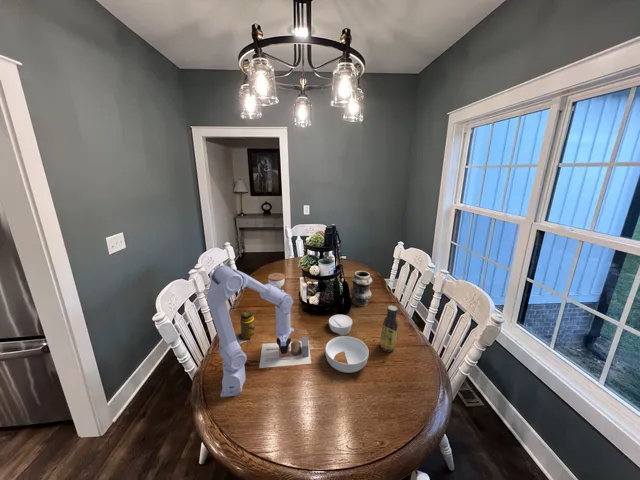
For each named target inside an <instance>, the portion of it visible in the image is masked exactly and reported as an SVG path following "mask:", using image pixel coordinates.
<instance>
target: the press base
mask: <svg viewBox="0 0 640 480" xmlns="http://www.w3.org/2000/svg"><path fill="white" fill-rule="evenodd" d="M308 339H309V338H308V336H301V340H298V341H299V342H300V343H301V353H300V355H298V356H294V355H292V354H291V343H292V342H293V341H291V342H290V344H289V356H285V357H279V345H278V344H277V342H270V343H262V344H261V353H260V358H259V359H260V360H259V366H258V367H259V369H264V368H265V369H266V368H275V367H276V368H277V367H286V366H287V367H288V366H298V365H300V366H301V365H310V364H312V360H311V359H312V356H311V351H310V341H309V340H308Z"/></svg>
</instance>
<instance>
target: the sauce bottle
mask: <svg viewBox="0 0 640 480" xmlns="http://www.w3.org/2000/svg"><path fill="white" fill-rule="evenodd" d="M386 308H387V311H386V312H387V313H386V316H385V318H384V320H383V322H382V328H381V334H380V335H381V336H380V348H381V349H382V351H385V352H387V353H390V352H393V351H394V350H395V348H396V342H397V334H398V327H399V321H398V318H397V313H398V310H399V309H398V306H395V305H389V306H387V307H386Z"/></svg>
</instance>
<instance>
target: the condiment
mask: <svg viewBox="0 0 640 480" xmlns="http://www.w3.org/2000/svg"><path fill="white" fill-rule="evenodd" d="M239 321H240V322H239V323H240V333H236V334H235V336H236V339H237V342H238V343H239V345H241V344H244V343H246V342H251V337H254V336H255V334H256V327H255V317H254V313H253V311H252V310H243V312H242V313H240V320H239Z"/></svg>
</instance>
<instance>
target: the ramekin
mask: <svg viewBox="0 0 640 480" xmlns="http://www.w3.org/2000/svg"><path fill="white" fill-rule="evenodd" d="M328 325H329V329H330V330H331V331H332V332H333V333H335V334H338V337H341V336H347V335H348V334H349V333H350V332H351V329H352V325H353V319H352V318H351V317H350V316H348V315H345V314H335V315H332V316H331V317H330V318H329V319H328Z"/></svg>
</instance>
